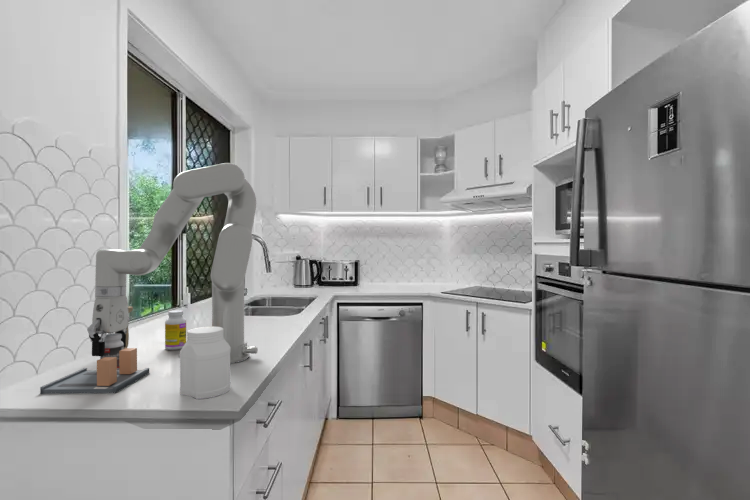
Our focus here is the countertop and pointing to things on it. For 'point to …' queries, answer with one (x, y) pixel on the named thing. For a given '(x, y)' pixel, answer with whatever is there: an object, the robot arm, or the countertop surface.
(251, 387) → the countertop surface
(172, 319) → the supplement bottle
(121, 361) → the orange rectangular block
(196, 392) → the jar
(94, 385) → the grey tray
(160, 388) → the countertop surface
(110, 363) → the tab
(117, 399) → the countertop surface
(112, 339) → the pill bottle
